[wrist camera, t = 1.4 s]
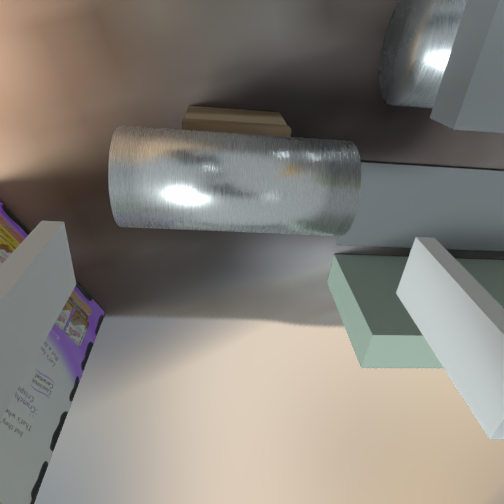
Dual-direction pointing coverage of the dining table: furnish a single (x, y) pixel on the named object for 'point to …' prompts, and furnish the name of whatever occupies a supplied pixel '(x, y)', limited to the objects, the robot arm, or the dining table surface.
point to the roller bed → (418, 50)
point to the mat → (428, 207)
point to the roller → (232, 181)
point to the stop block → (391, 308)
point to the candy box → (42, 385)
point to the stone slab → (475, 72)
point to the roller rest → (235, 121)
